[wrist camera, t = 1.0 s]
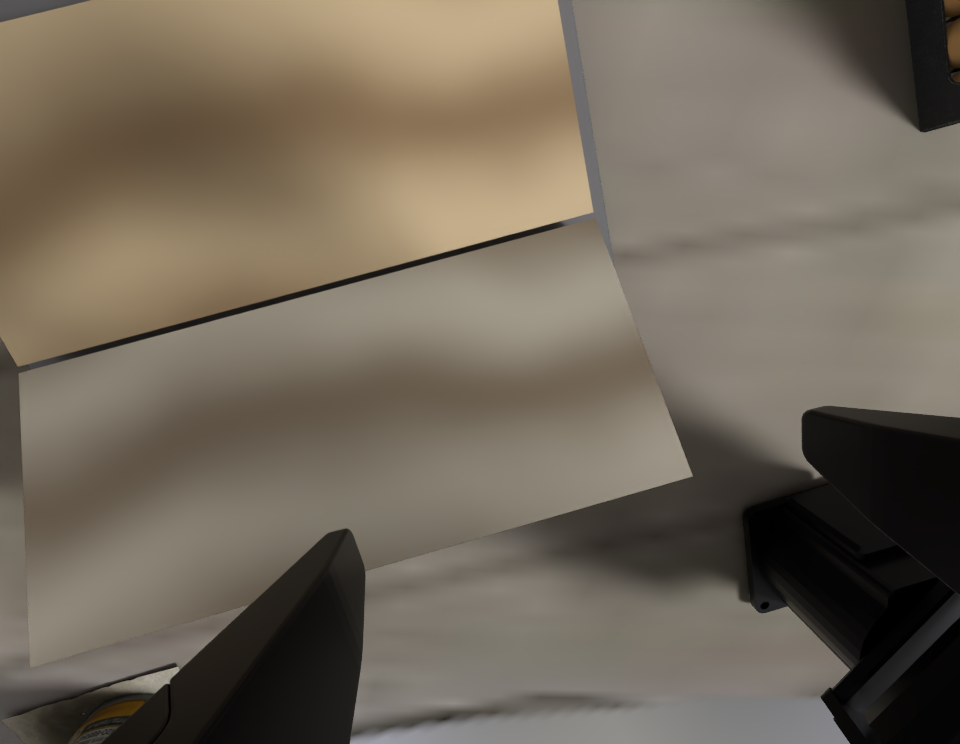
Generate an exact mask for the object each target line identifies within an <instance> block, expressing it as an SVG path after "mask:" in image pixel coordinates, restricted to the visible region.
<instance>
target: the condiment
mask: <svg viewBox="0 0 960 744" xmlns="http://www.w3.org/2000/svg"><path fill="white" fill-rule="evenodd" d="M179 671H180V669H179V667H175V668H172V669H168V670H164V671H160V672H157V673H153V674H149V675H145V676H141V677H138V678H135V679H134V680H128V681H123V682H120V683H116V684H113V685H111V686H109V687H103V688H101V689H98V690H95V691H93V692H90V693H86V694H83V695H81V696H79V697H77V698H74V699H71V700H64V701H60V702H57V703H55V704H49V705H46V706H42V707H40V708H37V709H34V710H32V711H29V712H27V713H24V714H22V715H18V716H13V717H10V718H6V719H3V720H1V721H2V722H3V723H4V724H5V725H6V726H7V727H8V729H9V730H11V731H14V732H15V733H16V734H17V736H18V737H19V738H20V739H21V740H22V741H23V742H24V743H25V744H100V743H101V742H102V741H103V740H104V739H106V738H107V737H108V736H109V735H110V734H111V733H112V732H113V731H114V730H116V729H117V728H118V727H119V726H120V725H121V724H122V723H123V722H124V721H125V720H127V719H128V718H129V717H130V716H131V715H132V714H133V713H134V712H135V711H136V710H138V709H139V708H140V707H141V706H142V705H143V704H144V703H145V702H146V701H147V700H148V699H149V698H150V697H152V696H153V695H154V694H155V693H156V692H157V691H158V690H159V689H160V688H161V687H162V686H163V685H165V684H170V683H169V682H170V679H171V678H172V677H173V676H174V675H175V674H176V673H177V672H179ZM82 713H85V715H82Z"/></svg>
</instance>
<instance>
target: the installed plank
mask: <svg viewBox="0 0 960 744" xmlns="http://www.w3.org/2000/svg"><path fill="white" fill-rule="evenodd" d="M589 213H593V206H592V201H591V195H590V189H589V183H588V177H587V171H586V165H585V159H584V153H583V147H582V141H581V136H580V130H579V124H578V118H577V112H576V106H575V100H574V94H573V88H572V82H571V76H570V71H569V65H568V59H567V53H566V47H565V41H564V35H563V29H562V23H561V17H560V11H559V6H558V0H90V1H86V2H82V3H78V4H74V5H70V6H66V7H62V8H57V9H53V10H49V11H45V12H41V13H37V14H33V15H29V16H25V17H21V18H17V19H13V20H8V21H4V22H0V337H1V339H2V341H3V342H4V344H5V346H6V347H7V349H8V351H9V352H10V354H11V356H12V358H13V359H14V361H15V363H16V364H17V366H18V367H19V366H23V365H27V364H30V363H34V362H38V361H41V360H45V359H49V358H53V357H56V356H60V355H64V354H68V353H71V352H75V351H79V350H82V349H86V348H90V347H94V346H97V345H101V344H105V343H109V342H112V341H116V340H120V339H123V338H127V337H131V336H135V335H138V334H142V333H146V332H149V331H153V330H157V329H161V328H164V327H168V326H172V325H176V324H179V323H183V322H187V321H190V320H194V319H198V318H202V317H205V316H209V315H213V314H217V313H220V312H224V311H228V310H231V309H235V308H239V307H243V306H246V305H250V304H254V303H258V302H261V301H265V300H269V299H272V298H276V297H280V296H284V295H287V294H291V293H295V292H298V291H302V290H306V289H310V288H313V287H317V286H321V285H325V284H328V283H332V282H336V281H339V280H343V279H347V278H351V277H354V276H358V275H362V274H366V273H369V272H373V271H377V270H380V269H384V268H388V267H392V266H395V265H399V264H403V263H407V262H410V261H414V260H418V259H421V258H425V257H429V256H433V255H436V254H440V253H444V252H447V251H451V250H455V249H459V248H462V247H466V246H470V245H474V244H477V243H481V242H485V241H488V240H492V239H496V238H500V237H503V236H507V235H511V234H515V233H518V232H522V231H526V230H529V229H533V228H537V227H541V226H544V225H548V224H552V223H556V222H559V221H563V220H567V219H570V218H574V217H578V216H582V215H585V214H589Z"/></svg>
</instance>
